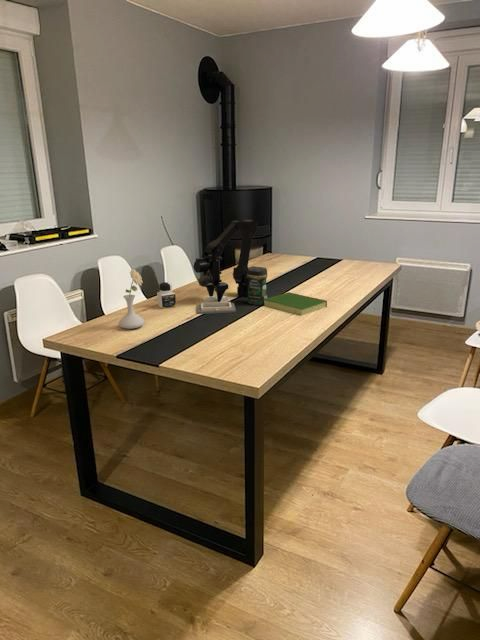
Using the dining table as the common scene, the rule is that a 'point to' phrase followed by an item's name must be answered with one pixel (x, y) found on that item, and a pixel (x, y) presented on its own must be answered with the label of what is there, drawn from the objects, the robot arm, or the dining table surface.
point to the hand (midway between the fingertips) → (215, 300)
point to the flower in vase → (131, 318)
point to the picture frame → (214, 299)
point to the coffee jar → (257, 285)
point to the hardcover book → (295, 303)
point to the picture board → (216, 307)
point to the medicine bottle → (166, 296)
